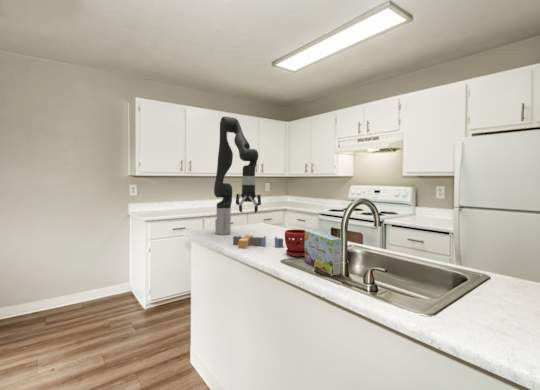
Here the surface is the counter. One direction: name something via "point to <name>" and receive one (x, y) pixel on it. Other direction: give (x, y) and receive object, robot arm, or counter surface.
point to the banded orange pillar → (244, 241)
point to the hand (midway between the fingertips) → (248, 212)
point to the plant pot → (295, 242)
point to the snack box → (323, 251)
